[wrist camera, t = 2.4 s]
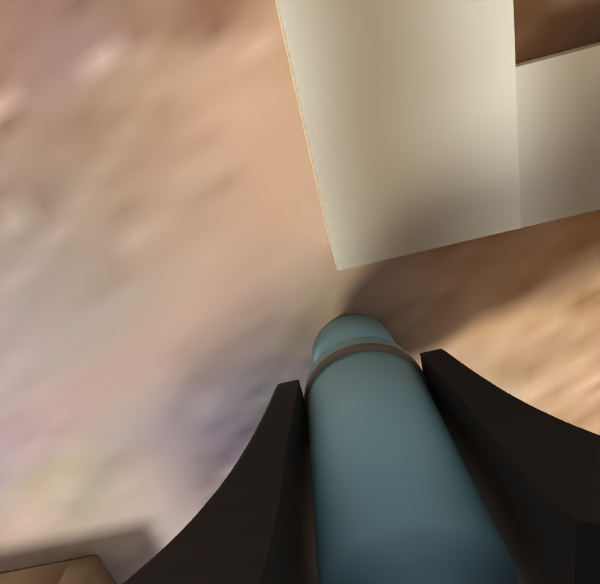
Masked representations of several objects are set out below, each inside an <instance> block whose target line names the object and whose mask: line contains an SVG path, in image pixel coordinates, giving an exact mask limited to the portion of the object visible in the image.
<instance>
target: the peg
mask: <svg viewBox="0 0 600 584" xmlns="http://www.w3.org/2000/svg"><path fill="white" fill-rule="evenodd" d="M313 359H314V364H313V365H312V367H311V369H310V371H309V374H308V378H307V384H306V387H305V394H304V401H305V410H306V413H307V417H308V422H309V438H310V455H311V471H312V488H313V504H314V521H315V537H316V554H317V570H318V584H519V577H518V571H517V568H516V566H515V563H514V561H513V559H512V557H511V555H510V553H509V551H508V549H507V547H506V545H505V543H504V541H503V539H502V537H501V535H500V533H499V531H498V529H497V527H496V525H495V523H494V521H493V519H492V517H491V515H490V513H489V511H488V509H487V507H486V505H485V503H484V501H483V499H482V497H481V495H480V493H479V491H478V489H477V487H476V485H475V483H474V481H473V478H472V476H471V474H470V472H469V470H468V468H467V466H466V464H465V462H464V460H463V458H462V456H461V454H460V452H459V450H458V448H457V446H456V444H455V442H454V440H453V438H452V436H451V434H450V432H449V430H448V428H447V426H446V424H445V422H444V420H443V418H442V416H441V414H440V412H439V410H438V408H437V406H436V404H435V402H434V400H433V398H432V396H431V394H430V392H429V390H428V385H427V380H426V377H425V375H424V373H423V371H422V370H421V368H420V366H419V365H418V364H417V362H416V361H415V360H414V359H413V358H412V357H411V356H410V355H409V353H408V352H407V351H406V350H405V349H403V348H402V347H401V346H399V345H398V344H396V343H395V342H394V340H393V338H392V336H391V333H390V332H389V330H388V329H387V328H386V327H385V325H383V324H382V323H381V322H380V321H378V320H376V319H374V318H372V317H369V316H365V315H347V316H343V317H340V318H337V319H335V320H333V321H332V322H330V323H329V324H327V325H326V326H325V327H324V328H323V329H322V330H321V331H320V332H319V334H318V336H317V337H316V340H315V342H314V346H313Z"/></svg>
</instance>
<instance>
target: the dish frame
mask: <svg viewBox="0 0 600 584" xmlns="http://www.w3.org/2000/svg"><path fill="white" fill-rule="evenodd" d="M0 584H114V582H113V581H112V579H111V578H110V576H109V574H108V573H107V571H106V570H105V568H104V567H103V565H102V564H101V562H100V561H99V559H98V558H97V556H96V555H94V556H89V557H84V558H79V559H74V560H68V561H63V562H58V563H53V564H48V565H42V566H37V567H32V568H27V569H22V570H17V571H11V572H6V573H1V574H0Z"/></svg>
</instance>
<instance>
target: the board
mask: <svg viewBox="0 0 600 584" xmlns="http://www.w3.org/2000/svg"><path fill="white" fill-rule="evenodd" d="M275 2H276V7H277V11H278V16H279V20H280V25H281V29H282V34H283V38H284V42H285V47H286V51H287V56H288V60H289V65H290V69H291V74H292V78H293V83H294V87H295V92H296V96H297V101H298V105H299V110H300V114H301V119H302V123H303V128H304V132H305V137H306V141H307V145H308V150H309V154H310V159H311V163H312V168H313V172H314V177H315V181H316V186H317V190H318V195H319V199H320V204H321V208H322V213H323V217H324V222H325V226H326V231H327V235H328V240H329V244H330V247H331V250H332V254H333V257H334V260H335V264H336V267H337V270H338V271H340V270H345V269H349V268H353V267H358V266H362V265H366V264H370V263H375V262H379V261H383V260H387V259H392V258H396V257H400V256H404V255H409V254H413V253H417V252H421V251H426V250H430V249H434V248H439V247H443V246H447V245H451V244H456V243H460V242H464V241H468V240H473V239H477V238H481V237H485V236H490V235H494V234H498V233H502V232H507V231H511V230H515V229H520V228H524V227H528V226H532V225H537V224H541V223H545V222H549V221H554V220H558V219H562V218H566V217H571V216H575V215H579V214H583V213H588V212H592V211H596V210H600V42H597V43H593V44H590V45H586V46H582V47H578V48H574V49H571V50H567V51H563V52H559V53H555V54H552V55H548V56H544V57H540V58H536V59H533V60H529V61H525V62H521V63H517V64H515V36H514V6H513V0H275Z"/></svg>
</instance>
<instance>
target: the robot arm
mask: <svg viewBox="0 0 600 584" xmlns="http://www.w3.org/2000/svg"><path fill="white" fill-rule="evenodd" d="M420 356H421V363H422V369H423V373H424V375H425V377H426V380H427V385H428V390H429V392H430V394H431V396H432V398H433V400H434V402H435V404H436V406H437V408H438V410H439V412H440V414H441V416H442V418H443V420H444V422H445V424H446V426H447V428H448V430H449V432H450V434H451V436H452V438H453V440H454V442H455V444H456V446H457V448H458V450H459V452H460V454H461V456H462V458H463V460H464V462H465V464H466V466H467V468H468V470H469V472H470V474H471V476H472V478H473V481H474V483H475V485H476V487H477V489H478V491H479V493H480V495H481V497H482V499H483V501H484V503H485V505H486V507H487V509H488V511H489V513H490V515H491V517H492V519H493V521H494V523H495V525H496V527H497V529H498V531H499V533H500V535H501V537H502V539H503V541H504V543H505V545H506V547H507V549H508V551H509V553H510V555H511V557H512V559H513V561H514V563H515V566H516V568H517V571H518V577H519V584H600V435H597V434H595V433H592V432H589V431H587V430H584V429H582V428H579V427H576V426H574V425H572V424H569V423H567V422H564V421H562V420H560V419H558V418H556V417H553V416H551V415H549V414H547V413H545V412H543V411H541V410H538V409H536V408H534V407H532V406H530V405H529V404H527V403H525V402H523V401H521V400H519V399H517V398H516V397H514V396H512V395H510V394H509V393H507V392H505V391H503V390H502V389H500V388H498V387H497V386H495V385H494V384H492V383H491V382H489V381H487V380H486V379H484V378H483V377H481V376H480V375H478V374H477V373H475V372H474V371H472V370H471V369H469V368H468V367H467V366H465V365H464V364H462V363H461V362H460V361H458V360H457V359H455V358H454V357H453V356H451V355H450V354H448V353H447V352H446V351H444V350H442V349H438V350H433V351H428V352H424V353H420ZM123 584H318V570H317V554H316V537H315V521H314V504H313V488H312V471H311V455H310V438H309V422H308V417H307V413H306V410H305V401H304V397H303V393H302V390H301V386H300V383H299V380H295V381H290V382H285V383H281V384H278V386H277V387H276V389H275V391H274V394H273V396H272V398H271V400H270V403H269V405H268V407H267V409H266V411H265V413H264V415H263V417H262V419H261V421H260V423H259V425H258V427H257V429H256V431H255V433H254V435H253V436H252V438H251V440H250V442H249V443H248V445H247V447H246V448H245V450H244V452H243V453H242V455H241V457H240V458H239V460H238V462H237V463H236V465H235V466H234V468H233V469H232V471H231V472H230V473H229V475H228V476H227V478H226V479H225V480H224V482H223V483H222V485H221V486H220V487H219V489H218V490H217V491H216V492H215V494H214V495H213V496H212V497H211V498H210V499H209V501H208V502H207V503H206V504H205V505H204V507H203V508H202V509H201V510H200V511H199V512H198V514H197V515H196V516H195V517H194V518H193V519H192V520H191V521H190V522H189V523H188V524H187V525H186V527H185V528H184V529H183V530H182V531H181V532H180V533H179V534H178V535H177V536H176V537H175V538H174V539H173V540H172V541H171V542H170V543H169V544H168V545H167V546H165V547H164V548H163V549H162V550H161V551H160V552H159V553H158V554H157V555H156V556H155V557H153V558H152V559H151V560H150V561H149V562H148V563H147V564H145V565H144V566H143V567H142V568H141V569H140V570H139V571H137V572H136V573H135V574H134V575H133V576H132V577H130V578H129V579H128V580H127V581H126V582H124V583H123Z"/></svg>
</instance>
